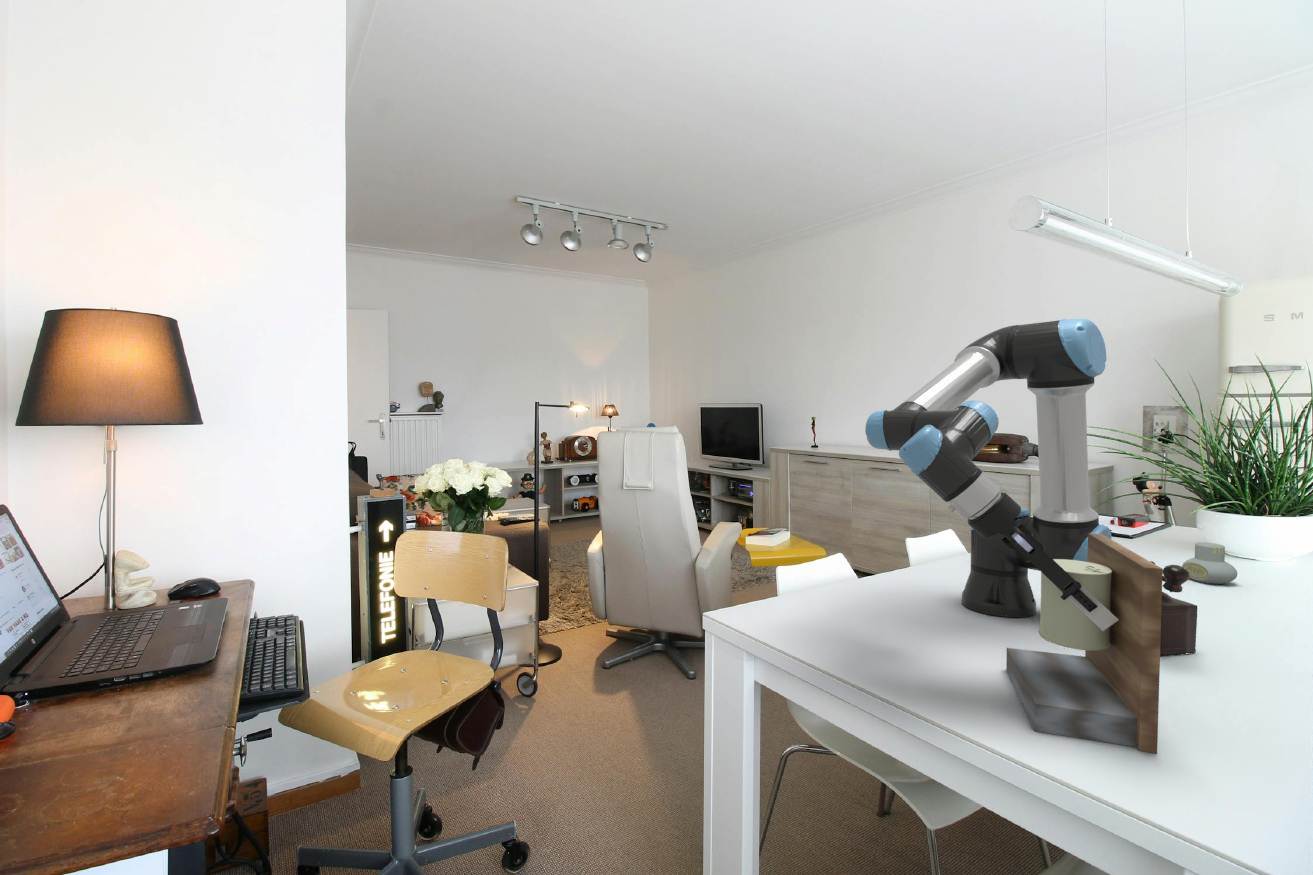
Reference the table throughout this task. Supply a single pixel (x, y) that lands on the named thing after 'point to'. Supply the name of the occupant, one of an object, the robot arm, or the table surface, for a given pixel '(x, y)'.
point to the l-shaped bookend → (1103, 663)
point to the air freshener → (1210, 564)
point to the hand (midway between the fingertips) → (1099, 614)
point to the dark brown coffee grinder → (1177, 615)
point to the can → (1075, 608)
